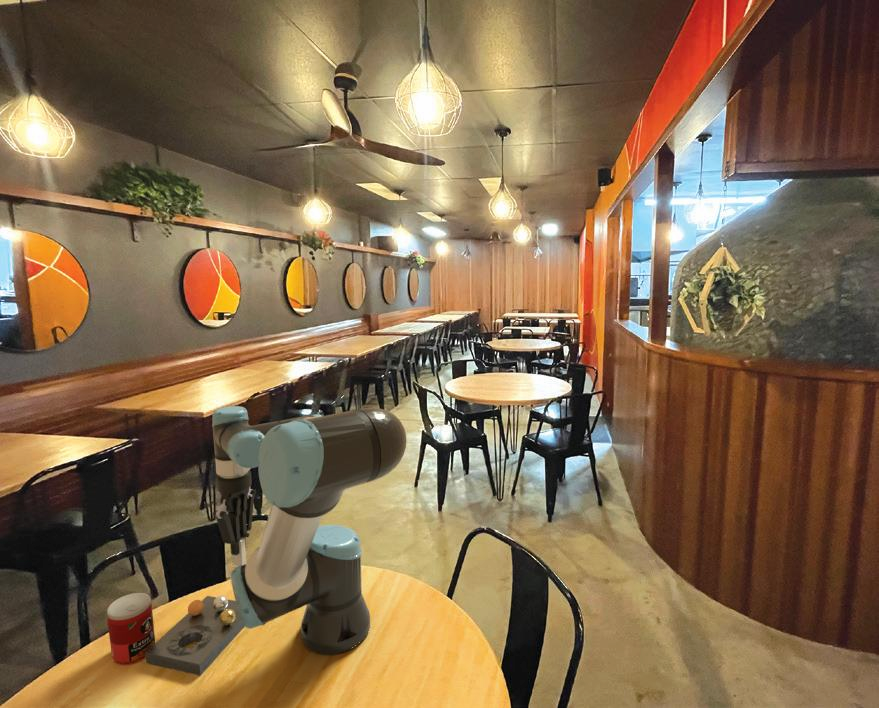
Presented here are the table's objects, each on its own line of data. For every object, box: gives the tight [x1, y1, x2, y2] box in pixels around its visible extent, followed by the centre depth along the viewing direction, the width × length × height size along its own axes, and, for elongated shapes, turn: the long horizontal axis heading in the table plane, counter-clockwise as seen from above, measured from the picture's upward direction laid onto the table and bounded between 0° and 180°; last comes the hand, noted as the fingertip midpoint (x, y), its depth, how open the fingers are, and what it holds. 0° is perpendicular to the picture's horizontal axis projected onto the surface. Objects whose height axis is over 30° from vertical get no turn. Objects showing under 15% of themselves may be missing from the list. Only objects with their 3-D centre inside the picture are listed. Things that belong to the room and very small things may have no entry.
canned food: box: [106, 592, 156, 666], centre depth 99 cm, size 8×8×11 cm
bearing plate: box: [144, 595, 246, 676], centre depth 103 cm, size 13×18×2 cm
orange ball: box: [187, 599, 204, 616], centre depth 107 cm, size 3×3×3 cm
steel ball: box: [213, 595, 229, 612], centre depth 108 cm, size 3×3×3 cm
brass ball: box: [219, 609, 235, 626], centre depth 104 cm, size 3×3×3 cm
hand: (239, 563), depth 115 cm, fingers closed
